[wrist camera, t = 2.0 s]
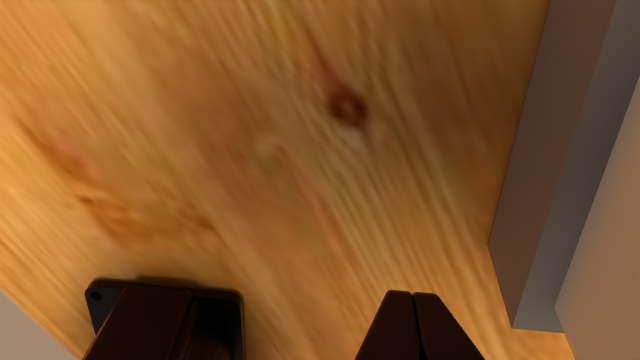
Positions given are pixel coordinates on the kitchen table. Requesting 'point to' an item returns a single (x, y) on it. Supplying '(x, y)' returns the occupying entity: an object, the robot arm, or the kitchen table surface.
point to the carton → (608, 259)
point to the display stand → (562, 150)
